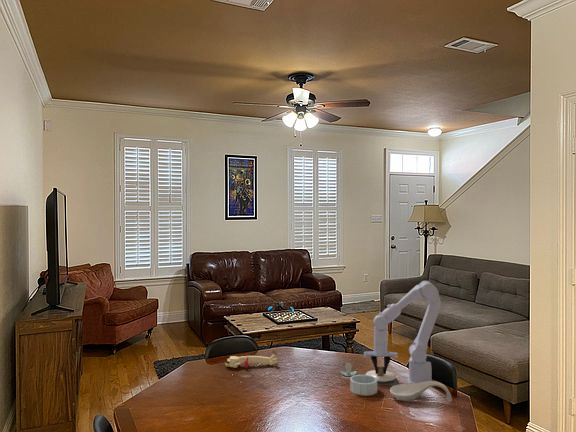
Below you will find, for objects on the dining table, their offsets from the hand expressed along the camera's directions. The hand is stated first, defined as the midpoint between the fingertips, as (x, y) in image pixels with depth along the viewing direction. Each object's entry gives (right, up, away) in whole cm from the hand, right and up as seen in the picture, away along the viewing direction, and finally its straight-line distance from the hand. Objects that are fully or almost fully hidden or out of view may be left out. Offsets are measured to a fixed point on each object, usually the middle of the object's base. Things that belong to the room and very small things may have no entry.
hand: (380, 373), depth 207 cm
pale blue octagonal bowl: (-10, -3, -13) cm, 16 cm away
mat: (0, -3, 0) cm, 3 cm away
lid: (0, -1, 0) cm, 1 cm away
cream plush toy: (-59, -3, +19) cm, 62 cm away
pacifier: (-14, -3, +4) cm, 15 cm away
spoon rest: (+12, -4, -21) cm, 24 cm away
